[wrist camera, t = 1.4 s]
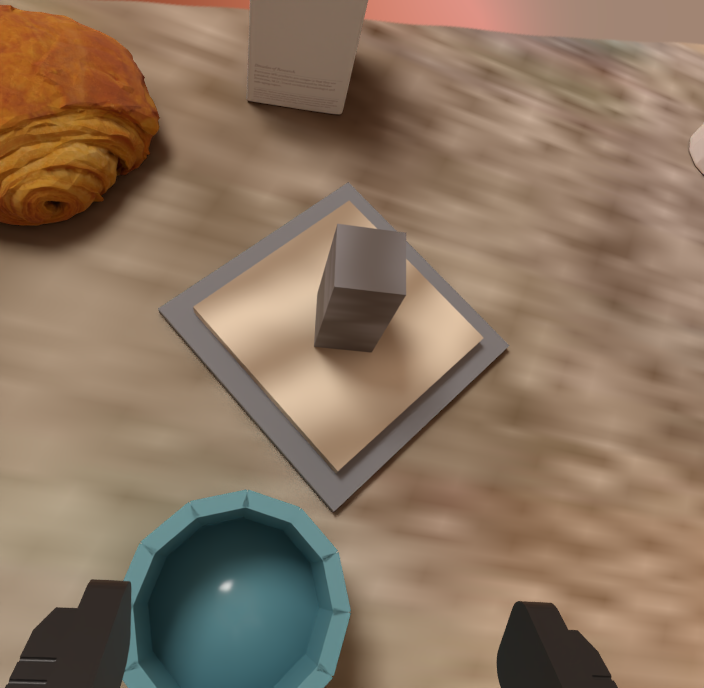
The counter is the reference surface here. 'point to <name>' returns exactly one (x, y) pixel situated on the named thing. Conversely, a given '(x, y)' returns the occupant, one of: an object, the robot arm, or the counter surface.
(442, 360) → the lid
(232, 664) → the bowl
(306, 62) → the supplement box
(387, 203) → the counter surface
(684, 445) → the counter surface
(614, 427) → the counter surface
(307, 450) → the mat
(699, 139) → the white cup
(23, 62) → the croissant
